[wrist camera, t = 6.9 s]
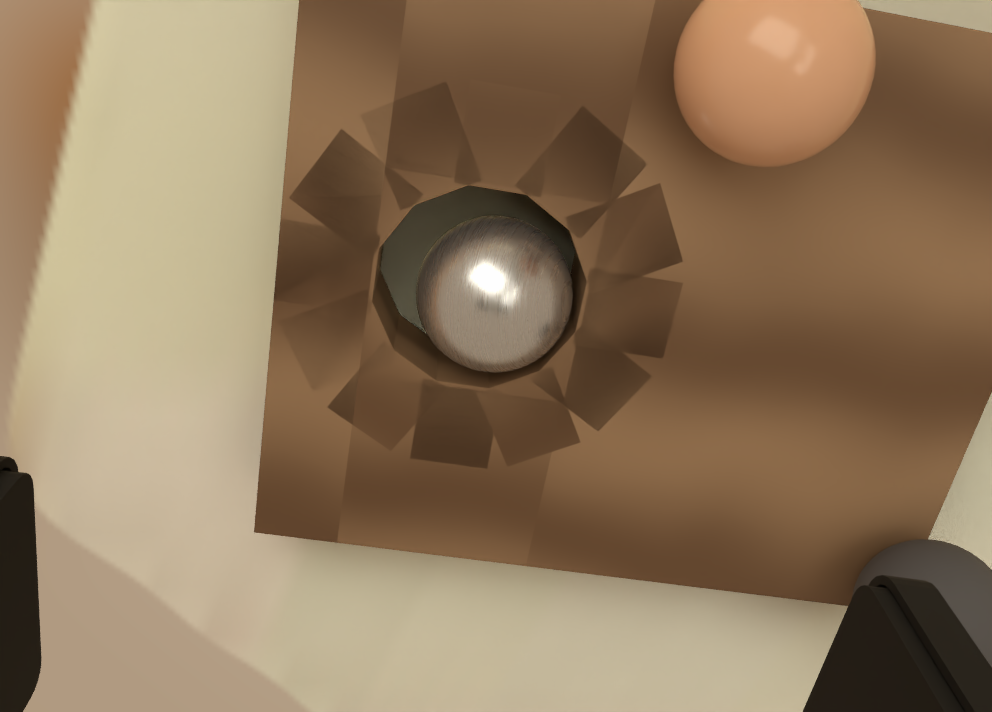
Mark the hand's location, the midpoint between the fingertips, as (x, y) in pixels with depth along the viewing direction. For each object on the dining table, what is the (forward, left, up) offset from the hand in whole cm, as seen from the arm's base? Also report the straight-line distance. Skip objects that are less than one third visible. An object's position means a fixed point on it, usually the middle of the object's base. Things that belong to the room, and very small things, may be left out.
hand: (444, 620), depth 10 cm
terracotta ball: (-6, +6, -11) cm, 14 cm away
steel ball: (+1, +1, -14) cm, 14 cm away
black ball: (+7, +14, -11) cm, 20 cm away
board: (+1, +5, -16) cm, 17 cm away
